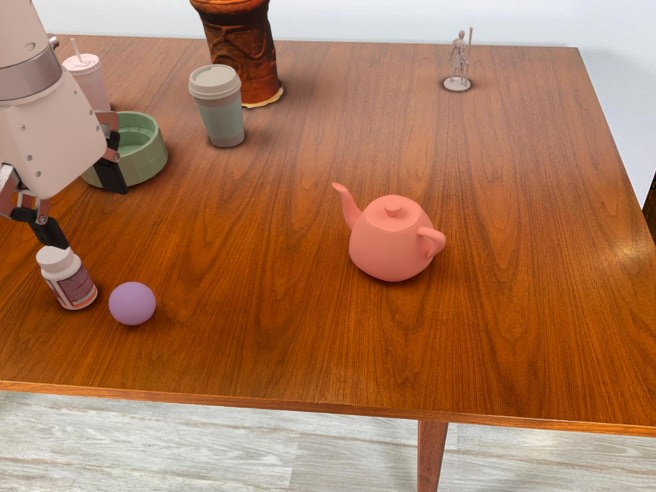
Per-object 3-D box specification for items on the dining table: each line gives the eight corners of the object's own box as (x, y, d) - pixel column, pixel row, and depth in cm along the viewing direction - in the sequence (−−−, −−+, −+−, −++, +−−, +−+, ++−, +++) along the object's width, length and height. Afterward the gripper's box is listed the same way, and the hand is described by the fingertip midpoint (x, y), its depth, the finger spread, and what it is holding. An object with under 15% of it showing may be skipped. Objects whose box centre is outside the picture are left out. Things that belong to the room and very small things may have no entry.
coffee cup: (238, 120, 108) (224, 57, 99) (260, 141, 103) (248, 77, 94) (195, 135, 104) (177, 72, 95) (216, 158, 100) (199, 93, 91)
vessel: (198, 103, 112) (169, -5, 97) (234, 69, 121) (212, -35, 106) (266, 115, 109) (246, 5, 94) (297, 79, 118) (284, -27, 103)
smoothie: (91, 123, 107) (59, 49, 97) (77, 110, 110) (44, 37, 100) (123, 110, 110) (96, 37, 100) (109, 98, 113) (80, 26, 103)
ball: (114, 336, 74) (98, 308, 70) (120, 304, 77) (105, 275, 73) (159, 330, 74) (145, 302, 70) (162, 298, 78) (150, 270, 74)
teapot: (419, 305, 77) (422, 254, 70) (312, 253, 83) (305, 202, 76) (463, 252, 83) (469, 200, 76) (360, 208, 90) (358, 156, 83)
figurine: (475, 84, 116) (482, 24, 107) (457, 94, 113) (463, 32, 104) (456, 75, 118) (461, 15, 109) (438, 84, 116) (442, 23, 107)
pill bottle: (103, 284, 80) (79, 239, 74) (90, 311, 76) (63, 266, 70) (69, 284, 80) (42, 239, 74) (54, 310, 77) (25, 265, 70)
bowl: (74, 195, 93) (58, 164, 88) (89, 145, 102) (75, 115, 98) (165, 186, 94) (154, 154, 90) (171, 137, 104) (162, 107, 99)
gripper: (50, 24, 58) (112, 166, 71) (-103, 110, 47) (1, 260, 60) (111, 35, 56) (163, 179, 69) (-35, 128, 45) (59, 278, 58)
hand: (88, 217), depth 64 cm, fingers open, 9 cm apart
